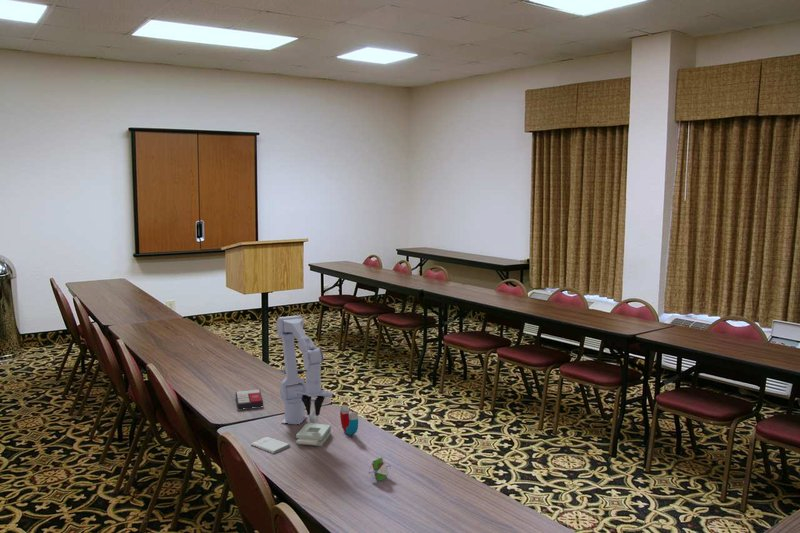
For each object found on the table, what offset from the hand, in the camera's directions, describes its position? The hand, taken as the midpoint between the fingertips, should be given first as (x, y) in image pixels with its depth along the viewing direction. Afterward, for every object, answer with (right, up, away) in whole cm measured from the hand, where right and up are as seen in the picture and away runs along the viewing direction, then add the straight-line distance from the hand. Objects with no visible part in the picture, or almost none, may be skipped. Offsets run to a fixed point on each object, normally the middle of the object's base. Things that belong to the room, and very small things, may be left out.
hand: (313, 414), depth 240 cm
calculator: (-34, -5, +40) cm, 53 cm away
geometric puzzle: (+27, -14, -31) cm, 43 cm away
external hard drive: (-15, -11, -6) cm, 20 cm away
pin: (0, -3, 0) cm, 3 cm away
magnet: (+13, -9, +7) cm, 18 cm away
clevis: (0, -10, +1) cm, 10 cm away
